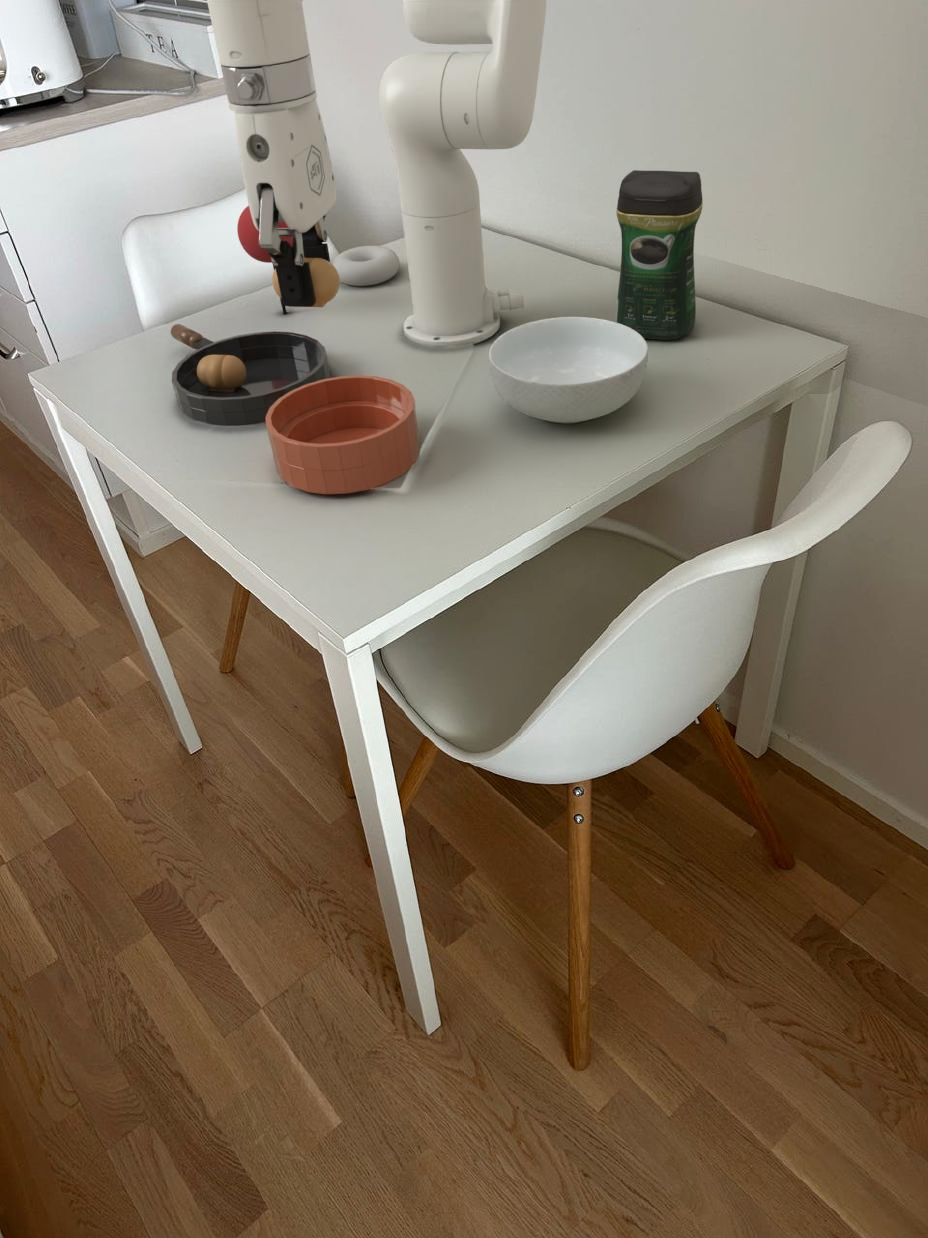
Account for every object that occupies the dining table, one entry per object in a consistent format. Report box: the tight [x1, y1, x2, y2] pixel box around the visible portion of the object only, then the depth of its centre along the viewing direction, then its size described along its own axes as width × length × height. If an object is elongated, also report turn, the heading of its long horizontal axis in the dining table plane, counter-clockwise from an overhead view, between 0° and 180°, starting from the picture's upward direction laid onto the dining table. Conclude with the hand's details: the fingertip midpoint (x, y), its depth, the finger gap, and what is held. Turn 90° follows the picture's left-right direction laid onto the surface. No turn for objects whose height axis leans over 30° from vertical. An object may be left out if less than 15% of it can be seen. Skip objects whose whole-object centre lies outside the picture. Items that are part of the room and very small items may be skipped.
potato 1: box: [197, 355, 246, 392], centre depth 116 cm, size 6×4×4 cm, turn 77°
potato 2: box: [271, 258, 341, 308], centre depth 93 cm, size 7×4×4 cm, turn 77°
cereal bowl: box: [488, 316, 649, 424], centre depth 105 cm, size 17×17×7 cm
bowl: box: [265, 374, 421, 495], centre depth 100 cm, size 15×15×6 cm
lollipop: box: [236, 205, 293, 315], centre depth 131 cm, size 8×8×15 cm
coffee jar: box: [615, 169, 704, 340], centre depth 115 cm, size 10×8×19 cm
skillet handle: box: [170, 323, 215, 350], centre depth 123 cm, size 10×2×2 cm, turn 42°
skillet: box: [171, 331, 332, 427], centre depth 115 cm, size 18×18×4 cm
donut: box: [332, 245, 401, 287], centre depth 143 cm, size 10×3×10 cm
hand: (308, 293), depth 93 cm, fingers closed on potato 2, 4 cm apart
